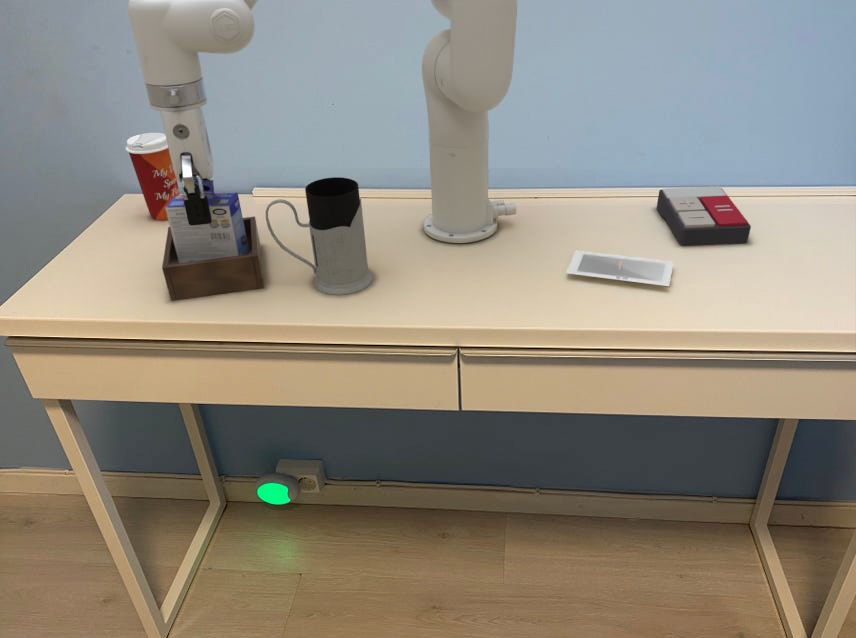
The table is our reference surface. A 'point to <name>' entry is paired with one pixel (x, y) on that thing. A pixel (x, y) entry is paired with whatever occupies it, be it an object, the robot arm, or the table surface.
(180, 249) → the ink cartridge box
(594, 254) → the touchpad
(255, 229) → the desk bin
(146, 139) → the paper cup
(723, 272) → the table surface
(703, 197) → the calculator
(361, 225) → the glass holder
